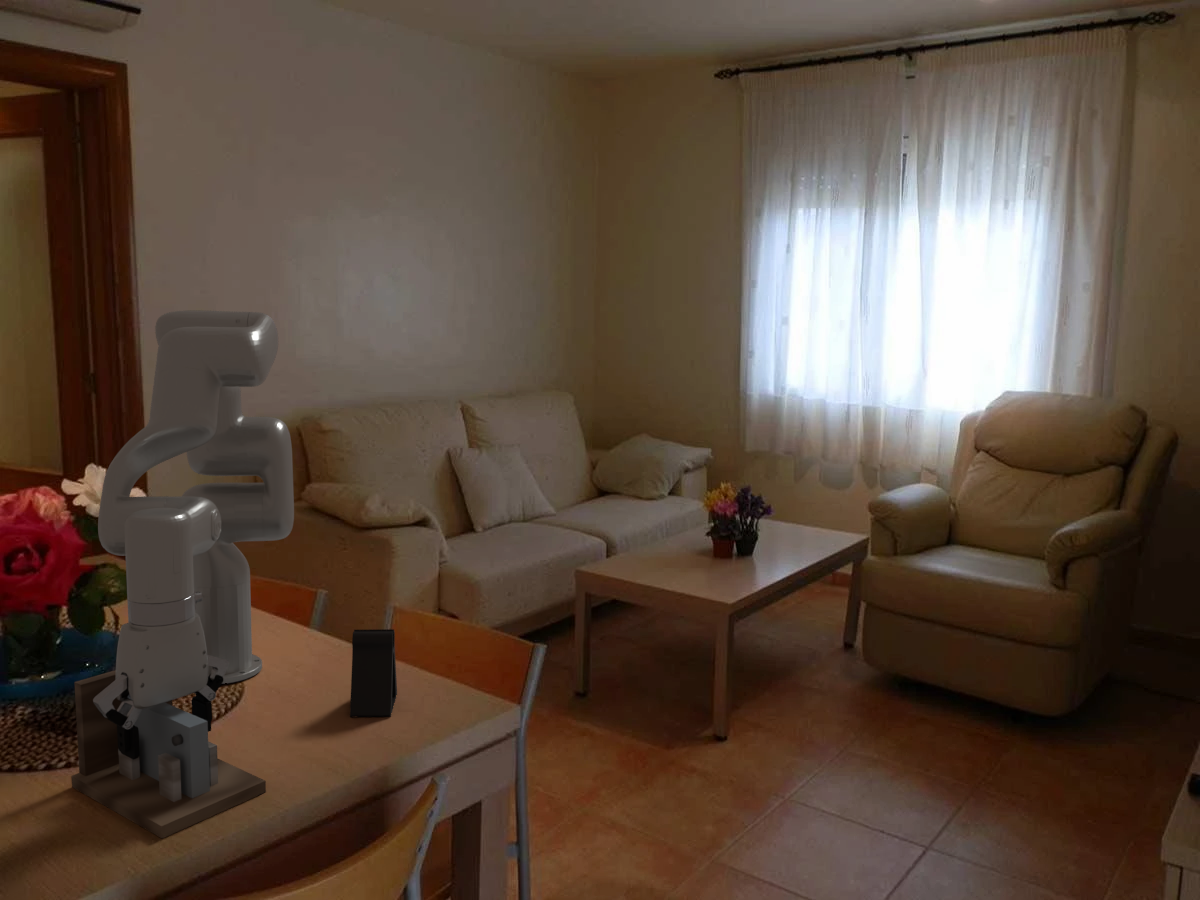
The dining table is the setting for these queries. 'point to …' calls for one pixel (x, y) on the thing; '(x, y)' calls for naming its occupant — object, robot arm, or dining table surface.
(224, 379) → the robot arm
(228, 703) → the dining table surface
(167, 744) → the blue-grey rectangular block
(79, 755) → the wooden peg rack
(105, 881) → the dining table surface
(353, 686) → the phone stand
